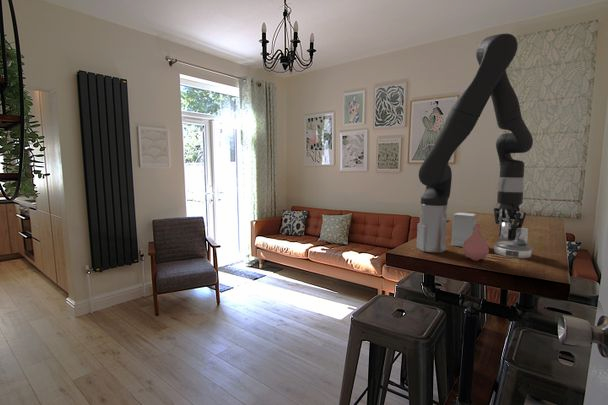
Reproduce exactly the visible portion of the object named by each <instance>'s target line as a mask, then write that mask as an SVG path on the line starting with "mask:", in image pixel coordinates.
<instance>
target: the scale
mask: <svg viewBox="0 0 608 405" xmlns="http://www.w3.org/2000/svg"><path fill="white" fill-rule="evenodd" d="M513 243H514V241H507V240H499V241H495V244H494V248H493V253H494V254H496V255H500V256H503V257H508V258H514V257H515V258H514V259H528V258H532V250H533V249H532V245H529V244H527V246H518V245H514V244H513Z"/></svg>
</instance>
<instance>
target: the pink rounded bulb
mask: <svg viewBox="0 0 608 405" xmlns="http://www.w3.org/2000/svg"><path fill="white" fill-rule="evenodd" d="M480 226H481V225H480V224H478V223H476V224H475V227H474V232H473V234H472V235H471V237H470V238H468V239H467V240H466V241H465V242H464V245H463V247H462V251H463V255H464V256H465V257H467V258H469V259H470V260H471V261H475V262H478V261H479V260H483V259H486V258H487V256H488V254H489V252H490V250H489V244H488V243H487V241H486V240H485V239H484V238H483V236H482V234H481V232H480V229H481V227H480Z"/></svg>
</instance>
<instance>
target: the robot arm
mask: <svg viewBox="0 0 608 405" xmlns="http://www.w3.org/2000/svg"><path fill="white" fill-rule="evenodd" d="M517 51H518V39H517V38H516V36H514V35H513V34H511V33H499V34H494V35H490V36H487V37H485V38H484V39H482V40H481V42H479V44H478V46H477V47H476V53H475V56H476V60H477V63H478V65H479V67H478V68H477V71H476V73H475V75H474V77H473V79H472V80H471V81H470V83H468V85H467V87H465V89H464V90H463V91H462V92H461V94H460V95H459V96H458V97H457V99H456V100H455V102H454V103H453V105H452V107H451V109H450V111H449V113H448V114H447V117H446V119H445V121H444V124H443V125H442V127H441V129H440V131H439V134H438V136H437V137H436V140H435V142H434V144H433V146H432V147H431V150H430V151H429V152H428V153H427V156H426V157H425V159H424V161H423V162H422V164H421V165H420V168H419V170H418V179H419V181H420V183H421V184H422V185H424V186H425V190H424V193H423V194H422V196H420V208H419V209H420V212H419V213H420V214H419V222H418V223H417V226H416V227H417V228H416V234H417V235H416V249H418V250H420V251H421V252H427V253H444V252H446V240H447V239H446V238H447V218H448V216H447V215H448V205H449V204H448V203H449V202H448V201H449V199H450V196H451V191H452V190H451V189H452V180H453V177H452V176H453V171H452V168H451V167H450V165H449V162H450V159H451V158H452V156H453V154H454V153H455V151H456V150H457V149H458V148H459V146H461V144H462V143H463V142H464V141H465V140H466V139H467V138H468V137H469V136H470V134H471V133H472V131H473V130H474V128H475V126H476V125H477V123H478V120H479V118H480V117H481V115H482V114H483V111H484V109H485V107H486V104H487V103H488V102H489V99H490V98H491V101H492V105H493V110H494V114H495V119H496V123H497V124H496V125H497V127H498V128H499V129H500V130H506V131H510V132H509V133H508V132H507V133H502V134H500V135H498V138H497V139H496V141H495V148H496V152H497V156H498V160H499V166H500V169H499V179H498V182H497V183H498V184H497V185H498V186H497V197H496V198H497V199H496V202H497V204H499V207H494V208H493V213H494V220H495V224H496V225H498V227H499V232H498V234H499V235H498V236H499V237H500V238H501V225H502V222H507V223H508V227H509V229H508V239H509V240H513V241H514V240H515V238H516V230H517V229H519V228H523V225H524V222H525V218H526V216H527V213H526V212H524V211H523V212H522V211H521V209H520V205H523V201H524V189H525V182H524V181H525V180H524V177H525V162H524V161H523V160H518V159H514V158H513V157H512V154H525V153H527V152H529V151H530V150H531V149H532V147H533V145H534V139H533V135H532V133H531V132H530V130H529V128H528V127H527V125H526V123H525V121H524V119H523V117H522V111H521V106H520V101H519V98H518V95H517V94H516V92H515V90H514V88H513V86H512V84H511V81H510V80H509V77H508V73H507V69H508V68H509V67H510V65H511V63H512V62H513V60H514V59H515V56H516V54H517ZM512 223H513V225H512Z"/></svg>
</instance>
